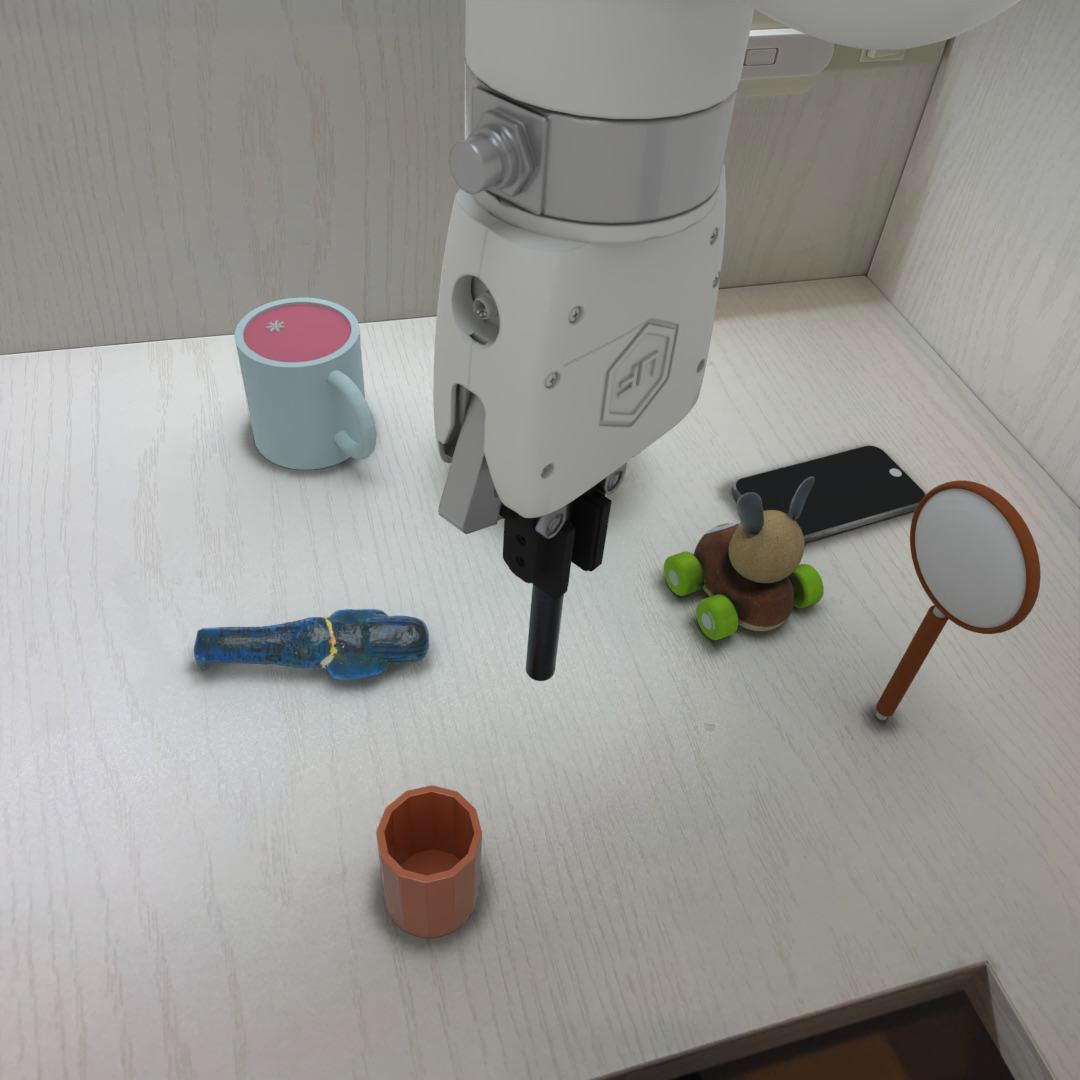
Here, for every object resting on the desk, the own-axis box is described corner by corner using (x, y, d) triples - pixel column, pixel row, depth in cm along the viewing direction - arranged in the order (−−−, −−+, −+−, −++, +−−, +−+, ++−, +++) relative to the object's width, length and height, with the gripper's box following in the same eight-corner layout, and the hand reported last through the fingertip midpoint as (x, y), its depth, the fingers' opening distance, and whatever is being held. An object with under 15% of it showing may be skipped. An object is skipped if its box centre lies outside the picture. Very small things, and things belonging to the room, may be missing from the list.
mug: (233, 426, 81) (211, 324, 73) (327, 385, 85) (316, 284, 78) (326, 517, 74) (312, 415, 67) (423, 467, 79) (420, 366, 71)
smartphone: (934, 499, 79) (779, 544, 74) (931, 506, 79) (777, 551, 74) (876, 441, 83) (727, 480, 78) (873, 448, 84) (725, 486, 79)
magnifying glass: (831, 671, 67) (935, 452, 52) (852, 664, 67) (960, 445, 53) (910, 775, 61) (1050, 563, 47) (932, 767, 62) (1076, 554, 48)
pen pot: (497, 891, 55) (501, 832, 49) (428, 958, 52) (425, 903, 47) (435, 830, 57) (433, 768, 52) (365, 890, 54) (356, 831, 49)
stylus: (561, 669, 46) (587, 466, 37) (541, 687, 46) (562, 484, 36) (539, 652, 47) (559, 448, 38) (519, 669, 46) (534, 465, 37)
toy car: (754, 536, 75) (790, 425, 67) (824, 616, 70) (872, 506, 62) (654, 570, 72) (679, 458, 64) (720, 657, 67) (756, 547, 59)
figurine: (197, 693, 63) (428, 687, 65) (185, 675, 60) (430, 669, 62) (203, 624, 65) (427, 620, 67) (192, 603, 62) (428, 600, 64)
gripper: (499, 281, 22) (484, 730, 35) (847, 104, 30) (729, 520, 44) (292, 166, 25) (350, 616, 38) (658, 34, 34) (602, 441, 47)
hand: (551, 563), depth 41 cm, fingers closed on stylus, 1 cm apart
